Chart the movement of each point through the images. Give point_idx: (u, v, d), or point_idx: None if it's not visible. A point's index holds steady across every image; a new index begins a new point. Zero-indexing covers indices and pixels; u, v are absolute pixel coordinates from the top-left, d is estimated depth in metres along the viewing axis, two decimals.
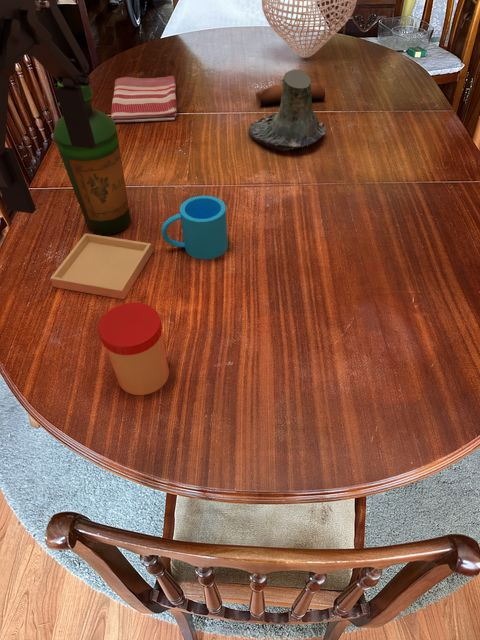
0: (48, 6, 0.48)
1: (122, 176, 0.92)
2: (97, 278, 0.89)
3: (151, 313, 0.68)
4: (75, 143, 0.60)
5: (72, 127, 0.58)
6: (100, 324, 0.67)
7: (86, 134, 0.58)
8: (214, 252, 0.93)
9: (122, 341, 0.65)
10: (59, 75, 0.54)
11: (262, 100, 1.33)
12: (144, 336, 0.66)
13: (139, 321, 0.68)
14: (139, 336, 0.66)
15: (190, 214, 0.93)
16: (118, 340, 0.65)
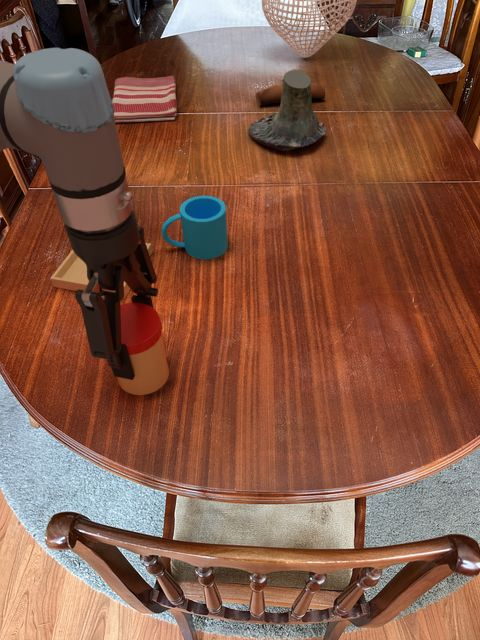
0: (139, 243, 0.63)
1: None
2: None
3: (151, 313, 0.68)
4: None
5: None
6: None
7: None
8: (214, 252, 0.93)
9: (122, 341, 0.65)
10: (136, 288, 0.68)
11: (262, 100, 1.33)
12: (144, 336, 0.66)
13: (139, 321, 0.68)
14: (139, 336, 0.66)
15: (190, 214, 0.93)
16: None
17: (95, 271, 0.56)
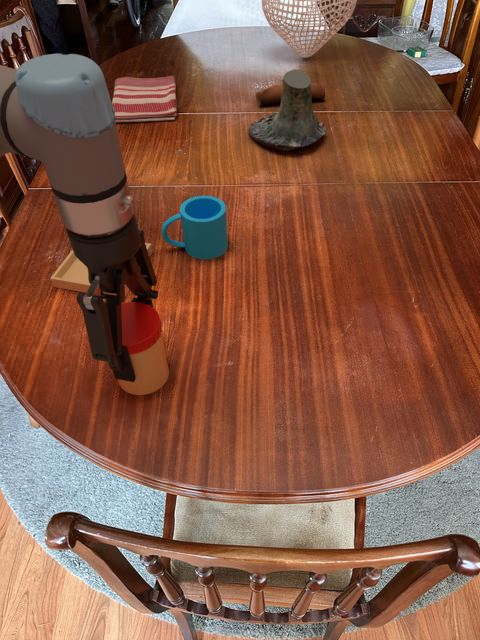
0: (140, 246, 0.64)
1: None
2: None
3: None
4: None
5: None
6: (128, 343, 0.65)
7: None
8: (214, 252, 0.93)
9: (153, 322, 0.67)
10: (136, 291, 0.68)
11: (262, 100, 1.33)
12: (147, 309, 0.69)
13: (126, 316, 0.68)
14: (147, 312, 0.68)
15: (190, 214, 0.93)
16: (151, 325, 0.67)
17: (96, 274, 0.56)
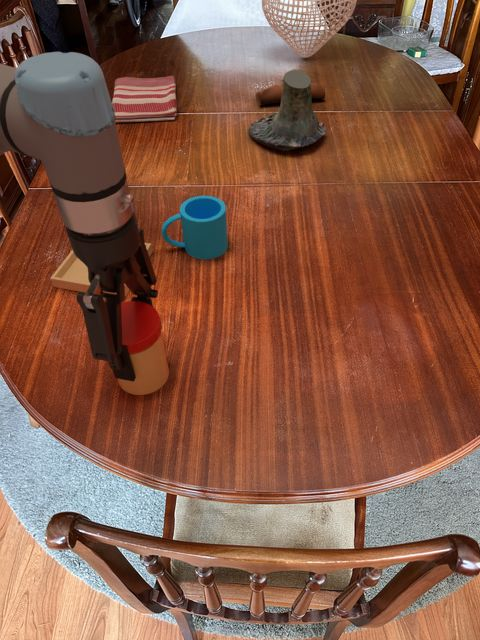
0: (139, 245, 0.63)
1: None
2: None
3: None
4: None
5: None
6: (157, 316, 0.68)
7: None
8: (214, 252, 0.93)
9: (130, 305, 0.69)
10: (136, 290, 0.68)
11: (262, 100, 1.33)
12: None
13: None
14: None
15: (190, 214, 0.93)
16: (134, 305, 0.69)
17: (96, 273, 0.56)
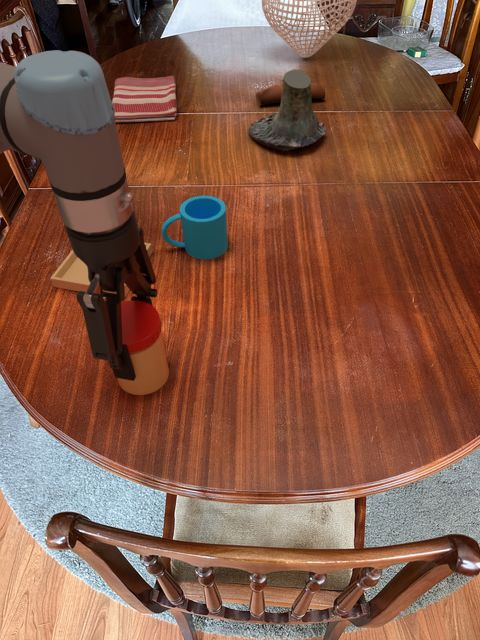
0: (139, 244, 0.63)
1: None
2: None
3: (146, 332, 0.66)
4: None
5: None
6: (123, 302, 0.69)
7: None
8: (214, 252, 0.93)
9: None
10: (136, 289, 0.68)
11: (262, 100, 1.33)
12: None
13: (133, 327, 0.66)
14: None
15: (190, 214, 0.93)
16: None
17: (96, 273, 0.56)
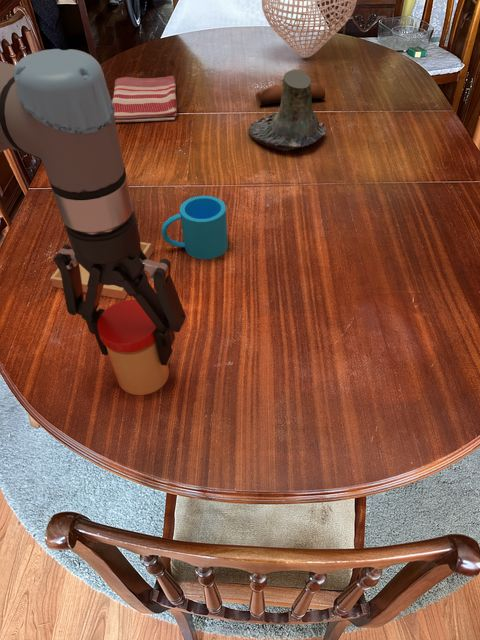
0: None
1: None
2: None
3: None
4: None
5: None
6: (99, 328, 0.66)
7: None
8: (214, 252, 0.93)
9: (129, 338, 0.65)
10: (95, 306, 0.66)
11: (262, 100, 1.33)
12: (149, 329, 0.66)
13: (137, 316, 0.67)
14: (144, 330, 0.66)
15: (190, 214, 0.93)
16: (125, 338, 0.65)
17: (139, 255, 0.58)
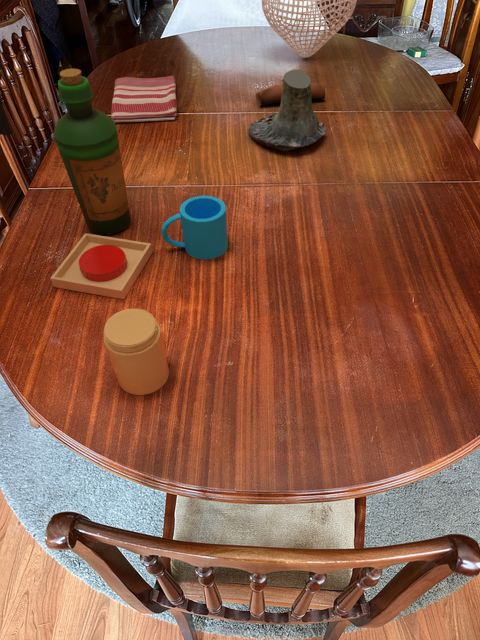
0: None
1: (122, 176, 0.92)
2: None
3: (90, 251, 0.91)
4: None
5: None
6: (105, 272, 0.87)
7: None
8: (214, 252, 0.93)
9: (120, 256, 0.90)
10: None
11: (262, 100, 1.33)
12: (113, 248, 0.92)
13: (99, 254, 0.90)
14: (114, 250, 0.91)
15: (190, 214, 0.93)
16: (120, 258, 0.90)
17: None
